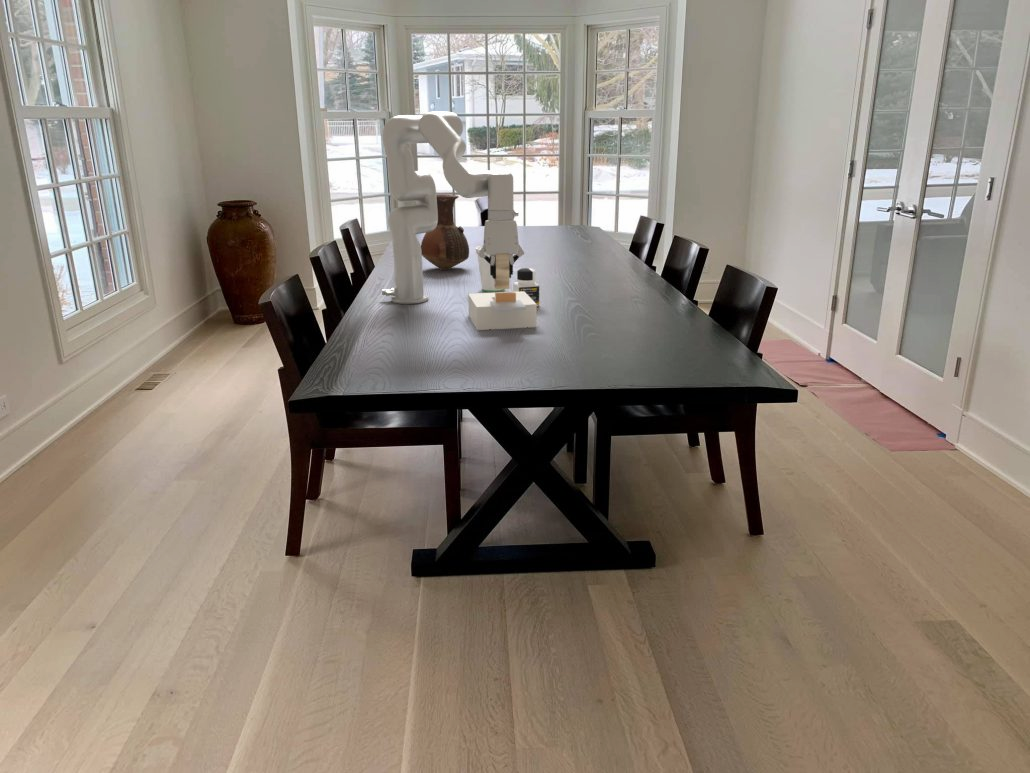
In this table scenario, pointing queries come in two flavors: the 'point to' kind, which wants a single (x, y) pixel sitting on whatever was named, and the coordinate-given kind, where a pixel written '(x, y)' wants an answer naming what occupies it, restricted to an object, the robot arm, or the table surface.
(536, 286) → the medicine bottle
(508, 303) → the grey tile with orange
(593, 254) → the table surface
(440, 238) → the vase
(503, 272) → the plug
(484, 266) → the cup
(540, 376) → the table surface
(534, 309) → the socket
